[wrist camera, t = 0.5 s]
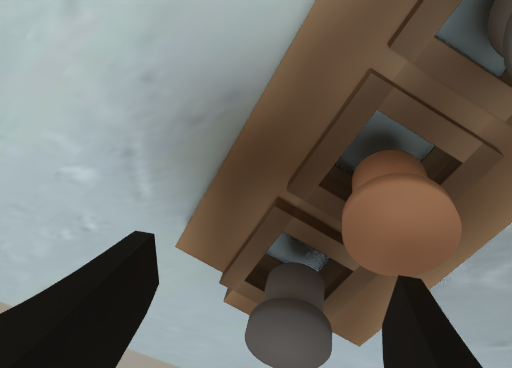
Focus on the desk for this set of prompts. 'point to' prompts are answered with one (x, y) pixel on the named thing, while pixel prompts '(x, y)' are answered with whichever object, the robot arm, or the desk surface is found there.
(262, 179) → the walnut test board
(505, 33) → the grey plug near
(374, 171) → the terracotta plug
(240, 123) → the desk surface
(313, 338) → the grey plug far
